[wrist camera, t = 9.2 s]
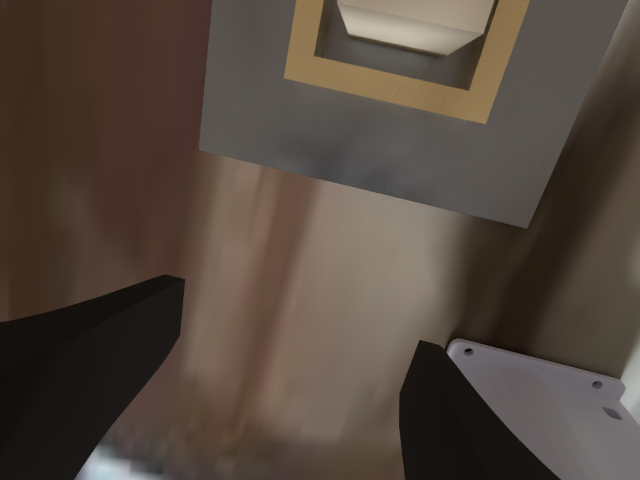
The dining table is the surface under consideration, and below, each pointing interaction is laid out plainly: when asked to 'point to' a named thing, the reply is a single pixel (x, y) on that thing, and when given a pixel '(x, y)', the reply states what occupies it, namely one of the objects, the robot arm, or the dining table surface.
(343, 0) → the cream block
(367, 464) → the dining table surface
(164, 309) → the robot arm
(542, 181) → the socket plate
